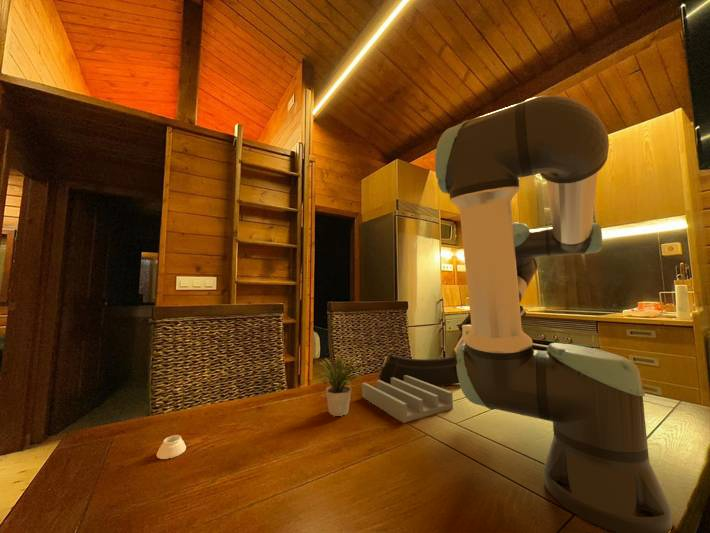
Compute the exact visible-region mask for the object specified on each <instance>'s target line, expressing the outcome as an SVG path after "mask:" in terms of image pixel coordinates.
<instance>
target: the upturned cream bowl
mask: <svg viewBox="0 0 710 533" xmlns="http://www.w3.org/2000/svg"><path fill="white" fill-rule="evenodd" d="M186 449H187V446H186V444H185V441H184V440H183V438H182V436H181V435H179V434H175V435H170V436H167V437H166V438H165V439H163V441H162V444H161V445H160V446H159V448H158V450H157V453H156V458H157V459H160V460H168V459H169V458H170V459H173V458H176V457H178V456H180V455H182V454H183V453H184V452H185V451H186Z"/></svg>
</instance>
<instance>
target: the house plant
mask: <svg viewBox="0 0 710 533" xmlns="http://www.w3.org/2000/svg"><path fill="white" fill-rule="evenodd" d="M350 355H351V353H349V354H348V355H347V356H346V357H345V359H344V360H343V361H342V357H341V354H340V353H339V351H338V350H337V352H336V358H335V359H336V360H335V365H334V363H333V361H332V360H331V359H330V358H326V357H324V360H325V361H326V362H325V361H324V360H322V362H318V364H320V365H321V366H323V368H324V369H325V370H326V372H325V371H320V373H319V374H320V375H323V376H325V377H326V378H327V379H326V378H323V379H322V380H321V386H323V385H326V384H330V385H331V386H328V387H326V388H325V394H326V401H327V402H326V403H327V408H328V414H329V413H330V414H331V415H334V416H333V417H335V416H341V417H344V416H343V415H345V416H346V414H347V413H349V409H350V408H349V406H350V401H351V394H352V388H351V384H352V382H351V381H353V380H360V381H362V378H361V375H360V374H354V373H353V372H356V371H359V370H364V369H365V370H366V367H356V366H358V364H359V363H361V361H358V362H355V361H356V360H357V359H358V358H359V356H357V357H354V358H353V359H351V361H350V362H348V364H347V361H348V359H349V358H350ZM345 365H346V366H345ZM354 367H355V368H354ZM351 373H353V374H351ZM348 385H349V386H348ZM330 414H329V415H330ZM331 415H330V416H331ZM347 415H348V414H347Z"/></svg>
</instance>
